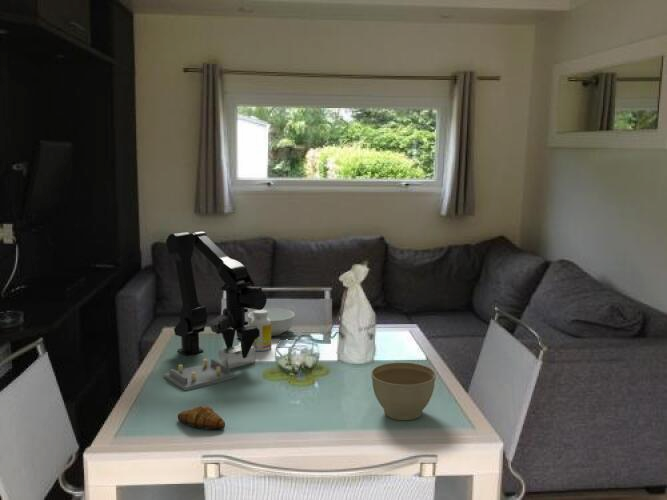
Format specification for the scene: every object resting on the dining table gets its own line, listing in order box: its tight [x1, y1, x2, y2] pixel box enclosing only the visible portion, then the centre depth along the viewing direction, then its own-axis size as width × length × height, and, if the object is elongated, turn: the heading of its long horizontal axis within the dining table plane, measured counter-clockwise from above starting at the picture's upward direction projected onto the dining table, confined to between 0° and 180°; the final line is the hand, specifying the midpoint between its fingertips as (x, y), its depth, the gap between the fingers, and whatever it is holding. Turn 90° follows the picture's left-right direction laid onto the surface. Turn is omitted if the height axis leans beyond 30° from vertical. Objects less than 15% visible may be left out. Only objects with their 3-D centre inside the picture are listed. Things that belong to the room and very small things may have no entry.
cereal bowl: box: [247, 308, 296, 337], centre depth 237 cm, size 17×17×7 cm
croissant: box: [177, 405, 226, 431], centre depth 159 cm, size 14×7×5 cm, turn 65°
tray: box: [163, 358, 237, 392], centre depth 192 cm, size 14×16×4 cm
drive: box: [218, 344, 256, 369], centre depth 204 cm, size 5×10×5 cm, turn 132°
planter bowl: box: [370, 361, 437, 421], centre depth 165 cm, size 16×16×11 cm
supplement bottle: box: [251, 310, 272, 352], centre depth 218 cm, size 7×7×13 cm
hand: (236, 354), depth 204 cm, fingers open, 9 cm apart
